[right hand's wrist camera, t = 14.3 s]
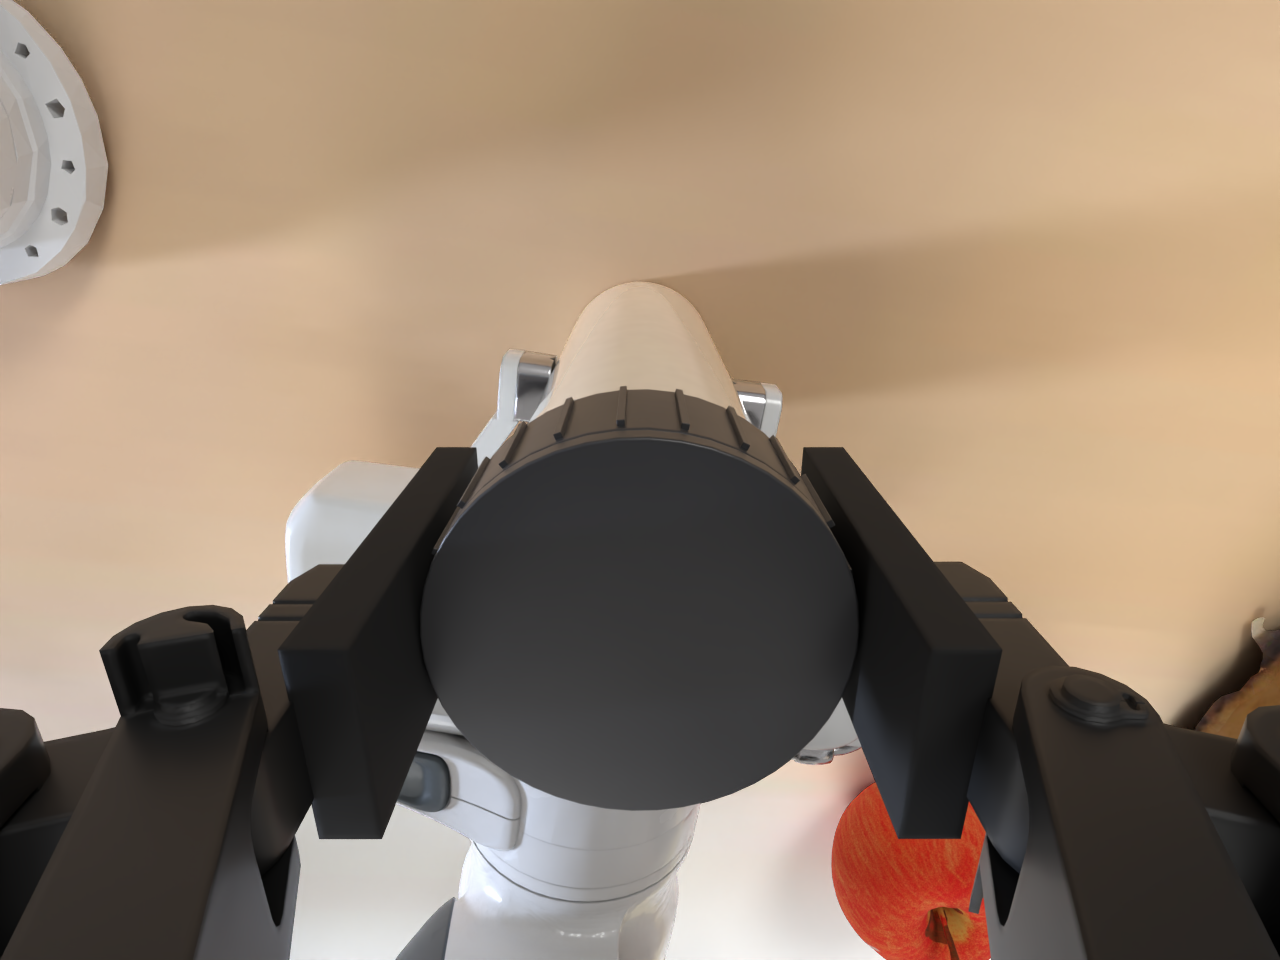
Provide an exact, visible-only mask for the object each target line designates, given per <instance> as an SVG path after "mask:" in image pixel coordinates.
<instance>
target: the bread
mask: <svg viewBox="0 0 1280 960" xmlns="http://www.w3.org/2000/svg"><path fill="white" fill-rule="evenodd" d="M1264 621H1265V618H1264V617H1262V618H1257V619H1255V620H1253V621H1252V623H1251V629H1252V637H1253V639H1254V640H1255V641H1256V643H1257V644H1258V645H1259V647H1260V649H1261V651H1262V652H1263V660H1262V662H1261V663H1260V666H1261V668H1260V671H1259V673H1257V674H1255V675H1253V676H1251V678H1250V679H1249V680H1248V681H1247V683H1246V684H1245V685H1244V686H1243V687H1242V689H1241V690H1239V691H1236V692H1233V693H1230V694H1227V695H1224V696H1221V697H1220V698H1219V699H1218V700H1216V701H1215V702H1214V703H1213V704H1212V706H1211V707H1210V708H1209V710H1208V711H1207V712H1206V714H1205V715H1204V716H1203V718H1202V719H1201V720H1200V722H1199V723H1198V724H1197V726H1196V729H1195V731H1200V732H1205V733H1210V734H1215V735H1220V736H1225V737H1230V738H1235V739H1238V737H1239V734H1240V732H1241V729H1242V727H1243V724H1244V721H1245V719H1246V716H1247V714H1249V713H1250V712H1252V711H1253V710H1255V709H1256V708H1258V707H1262V706H1274V705H1280V629H1278V630H1275V631H1266V630H1265V629H1264V628H1263V623H1264Z"/></svg>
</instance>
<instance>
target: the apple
mask: <svg viewBox="0 0 1280 960" xmlns="http://www.w3.org/2000/svg"><path fill="white" fill-rule="evenodd" d="M985 834H986V832H985V830H984V828H983V826H982V824H981V822H980V820H979V819H978V817H977V815H976V813H975V811H974V809H973V807H972V806H971V804H970V802H969V804H968V808H967V813H966V817H965V822H964V826H963V831H962V835H961V839H898V837H897V835H896V832H895V830H894V827H893V825H892V822H891V820H890V817H889V815H888V812H887V810H886V807H885V805H884V802H883V799H882V797H881V794H880V792H879V789H878V787H877V784H876V782H875V783H873V784H871V785H870V786H868V787H867V788H866V789H864V790H863V791H862V792H861V793H860V794H859V795H858V796H857V797H856V798H855V799H854V800H853V801H852V802H851V803H850V804H849V806H848V807H847V808H846V810H845V811H844V813H843V815H842V817H841V819H840V821H839V824H838V826H837V829H836V832H835V837H834V842H833V848H832V878H833V883H834V888H835V892H836V896H837V899H838V902H839V904H840V906H841V909H842V911H843V913H844V915H845V916H846V918H847V920H848V921H849V923H850V924H851V926H852V927H853V929H854V930H855V931H856V933H857V934H858V935H859V936H860V937H861V939H862V940H863V941H864V942H866V943H867V944H868V945H869V946H870V947H872V948H873V949H874V950H875V951H876V952H877V953H878V954H880V955H881V956H882V957H883V958H885V959H886V960H989V959H990V958H991V955H990V947H989V938H988V930H987V922H986V914H985V905H984V898H982V902H981V906H980V910H979V914H976V913H972V912H968V910H969V904H970V898H971V893H972V889H973V884H974V880H975V876H976V872H977V868H978V863H979V859H980V855H981V851H982V847H983V842H984V838H985Z"/></svg>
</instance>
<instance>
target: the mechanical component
mask: <svg viewBox="0 0 1280 960" xmlns="http://www.w3.org/2000/svg"><path fill="white" fill-rule="evenodd" d="M107 173H108V161H107V157H106V152H105V147H104V143H103V138H102V133H101V129H100V124H99V119H98V115H97V113H96V111H95V108H94V106H93V104H92V102H91V99H90V97H89V95H88V93H87V90H86V88H85V86H84V83H83V81H82V79H81V78H80V76H79V75H78V73H77V71H76V70H75V68H74V67H73V65H72V64H71V62H70V61H69V59H68V57H67V56H66V54H65V53H64V51H63V50H62V48H61V47H60V46H59V45H58V44H57V42H56V41H55V40H54V39H53V38H52V37H51V36H50V35H49V34H48V33H47V31H46V30H45V29H44V28H43V27H42V26H41V25H40V24H39V23H38V22H37V21H36V19H35V18H34V17H33V16H32V15H31V14H30V13H29V12H28V11H27V10H25V9H24V8H23V7H21V6H20V5H19V4H17V3H16V2H14V1H13V0H0V285H4V284H8V283H13V282H18V281H23V280H27V279H32V278H37V277H41V276H45V275H47V274H49V273H51V272H53V271H55V270H57V269H59V268H61V267H63V266H65V265H66V264H67V263H68V262H69V261H70V260H71V259H72V258H73V257H74V256H75V255H76V254H77V253H78V252H79V251H80V250H81V249H82V248H83V247H84V246H85V245H86V244H87V243H88V242H89V240H90V237H91V235H92V233H93V231H94V228H95V226H96V224H97V222H98V219H99V217H100V215H101V213H102V210H103V208H104V200H105V191H106V182H107Z"/></svg>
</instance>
